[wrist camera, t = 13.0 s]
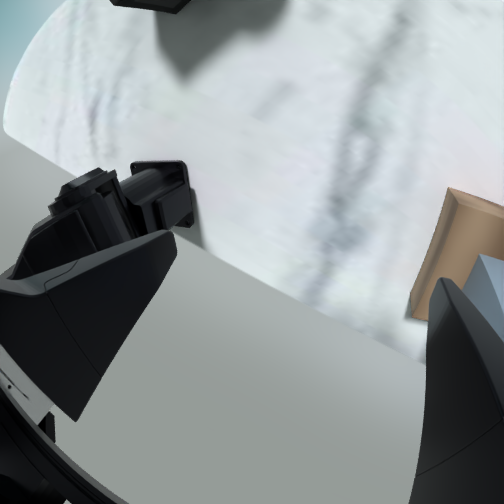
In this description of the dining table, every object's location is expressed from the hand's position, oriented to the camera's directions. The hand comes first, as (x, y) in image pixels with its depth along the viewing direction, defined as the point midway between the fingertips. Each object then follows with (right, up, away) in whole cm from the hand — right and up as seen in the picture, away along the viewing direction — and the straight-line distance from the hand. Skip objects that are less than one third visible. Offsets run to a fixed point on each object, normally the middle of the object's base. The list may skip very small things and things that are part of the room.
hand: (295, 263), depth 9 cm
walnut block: (+17, 0, +9) cm, 19 cm away
